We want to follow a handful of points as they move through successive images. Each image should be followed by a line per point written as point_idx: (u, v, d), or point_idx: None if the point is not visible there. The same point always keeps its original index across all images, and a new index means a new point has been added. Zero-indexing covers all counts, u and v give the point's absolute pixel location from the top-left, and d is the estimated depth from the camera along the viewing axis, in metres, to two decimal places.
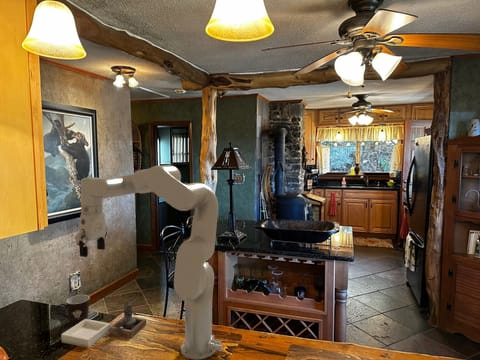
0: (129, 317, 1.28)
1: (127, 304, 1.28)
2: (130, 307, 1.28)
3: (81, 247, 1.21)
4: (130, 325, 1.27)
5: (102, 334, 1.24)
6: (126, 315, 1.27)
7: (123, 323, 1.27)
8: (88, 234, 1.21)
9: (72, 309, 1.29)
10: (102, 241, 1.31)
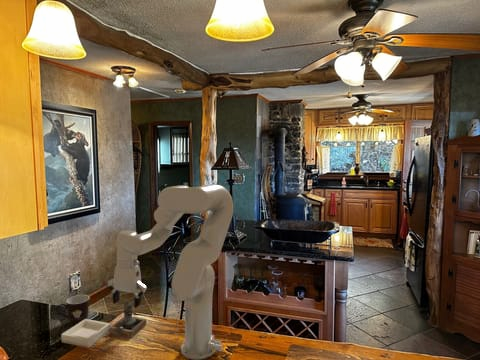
0: (129, 317, 1.28)
1: (127, 304, 1.28)
2: (130, 307, 1.28)
3: (139, 297, 1.27)
4: (130, 325, 1.27)
5: (102, 334, 1.24)
6: (126, 315, 1.27)
7: (123, 323, 1.27)
8: None
9: (72, 309, 1.29)
10: (118, 293, 1.31)
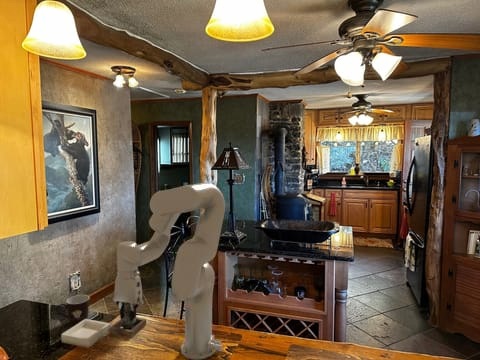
0: (129, 317, 1.28)
1: (127, 304, 1.28)
2: (130, 307, 1.28)
3: (135, 310, 1.28)
4: (130, 325, 1.27)
5: (102, 334, 1.24)
6: (126, 315, 1.27)
7: (123, 323, 1.27)
8: None
9: (72, 309, 1.29)
10: None
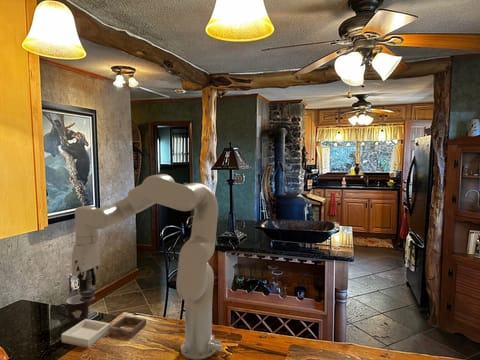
0: None
1: (89, 271, 1.22)
2: None
3: None
4: None
5: (102, 334, 1.24)
6: (90, 282, 1.22)
7: (92, 290, 1.22)
8: None
9: (72, 309, 1.29)
10: None
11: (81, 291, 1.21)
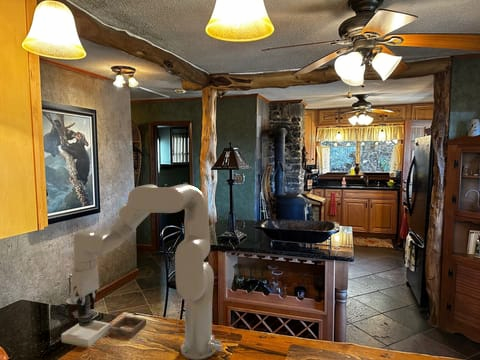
0: None
1: (88, 295, 1.23)
2: None
3: None
4: None
5: (102, 334, 1.24)
6: (89, 307, 1.23)
7: (90, 315, 1.22)
8: None
9: (72, 309, 1.29)
10: None
11: (80, 316, 1.21)
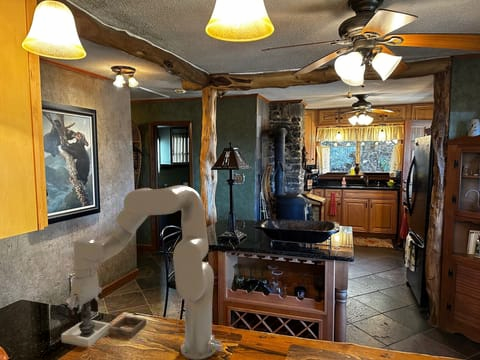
0: None
1: (89, 306, 1.23)
2: None
3: None
4: None
5: (102, 334, 1.24)
6: (90, 318, 1.23)
7: (91, 326, 1.23)
8: None
9: None
10: None
11: (81, 327, 1.21)
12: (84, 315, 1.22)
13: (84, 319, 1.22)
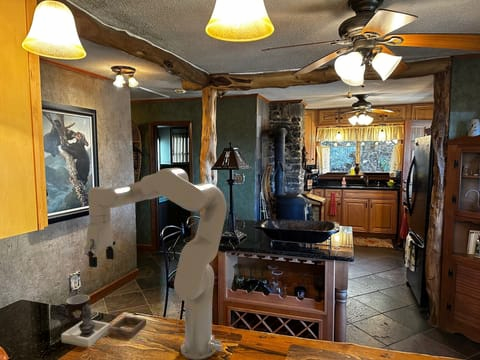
0: None
1: (89, 306, 1.23)
2: None
3: None
4: None
5: (102, 334, 1.24)
6: (90, 318, 1.23)
7: (91, 326, 1.23)
8: None
9: (72, 309, 1.29)
10: None
11: (81, 327, 1.21)
12: (84, 315, 1.22)
13: (84, 319, 1.22)
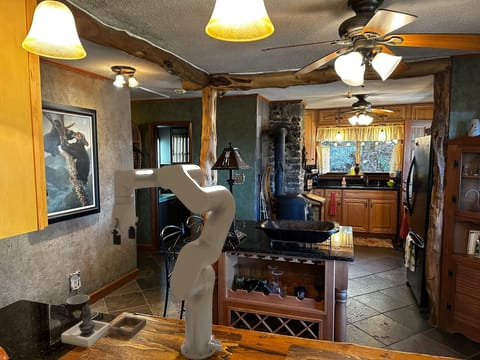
0: None
1: (89, 306, 1.23)
2: None
3: None
4: None
5: (102, 334, 1.24)
6: (90, 318, 1.23)
7: (91, 326, 1.23)
8: None
9: (72, 309, 1.29)
10: None
11: (81, 327, 1.21)
12: (84, 315, 1.22)
13: (84, 319, 1.22)
